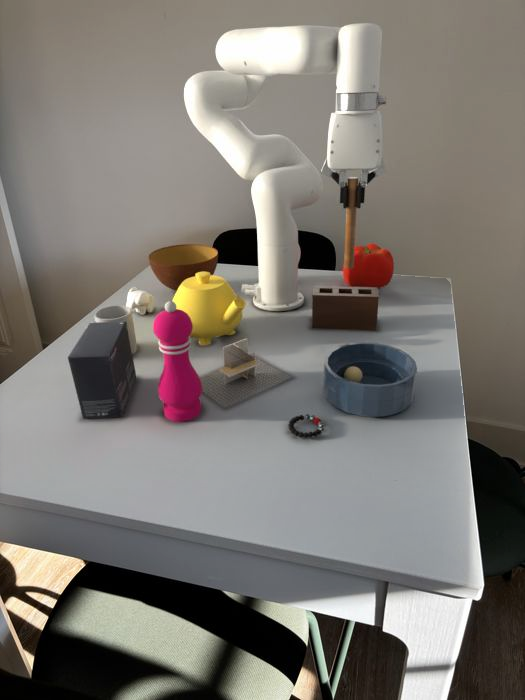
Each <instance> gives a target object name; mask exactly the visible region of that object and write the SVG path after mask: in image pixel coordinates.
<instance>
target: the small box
mask: <svg viewBox="0 0 525 700" xmlns="http://www.w3.org/2000/svg"><path fill="white" fill-rule="evenodd" d="M86 327H87V328H86ZM86 327H85V330H84V331H83V333H82V334H81V335H80V337H79V339H78V341H77V342H76V343H75V345H74V347H73V348H72V350H71V351H70V353H69V355H68V356H67V360H68V361H67V362H68V364H69V368H70V372H71V377H72V381H73V384H74V388H75V392H76V396H77V400H78V404H79V408H80V412H81V416H82V419H104V418H105V419H107V418H123V415H124V412H125V410H126V407H127V404H128V401H129V400H130V397H131V394H132V390H133V388H134V385H135V383H136V379H137V373H136V367H135V362H134V357H133V355H132V352H131V347H130V341H129V335H128V329H127V322H126V321H116V322H95V323H91V322H89V323H88V325H87V326H86Z"/></svg>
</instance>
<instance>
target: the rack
mask: <svg viewBox="0 0 525 700" xmlns="http://www.w3.org/2000/svg"><path fill="white" fill-rule="evenodd" d="M311 297H312V300H311V301H312V303H311V329H312V330H335V331H336V330H339V331H340V330H341V331H364V332H365V331H366V332H370V331H371V332H377V325H378V315H379V314H378V313H379V303H380V302H379V301H380V294H379V289H378V288H377V287H350V286H339V285H338V286H336V285H335V286H334V285H331V286H330V285H313V288H312V296H311Z"/></svg>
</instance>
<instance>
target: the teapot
mask: <svg viewBox="0 0 525 700" xmlns="http://www.w3.org/2000/svg"><path fill="white" fill-rule="evenodd" d="M210 274H211V273H209V272H205V271H203V272H198V273H196V274H195V275H196V276H194V277H190V278H188V279H186V280H184V281H183V282H182V283H181V285H180V286H179V288H178V290H177V292H175V294H174V296H173V298H172V301H173V302H174V303H175V304H176V307H177V308H176V309H179V310H182V311H184V312H186V313H187V314H188V315H189V317H190V318H191V321H192V332H191V334H190V335H189V337H190V338H193V339H198V344H199V346H208V345H211V344H212V339H213V338H219V337H222V336H232V335H235V334H236V331H235V328H236V327H238V325H239V324H240V323H241V321H242V319H243V310H244V309H245V307H246V301H245V300H244V299H243V298H242V297H238V295H237V294H236V292H235V291H234V289H233V288H232V286H231V285H230V284H229V283H228V281H227V280H226V279H225V278H223V277H222V276H219V275H214V274H213V275H210Z"/></svg>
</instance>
